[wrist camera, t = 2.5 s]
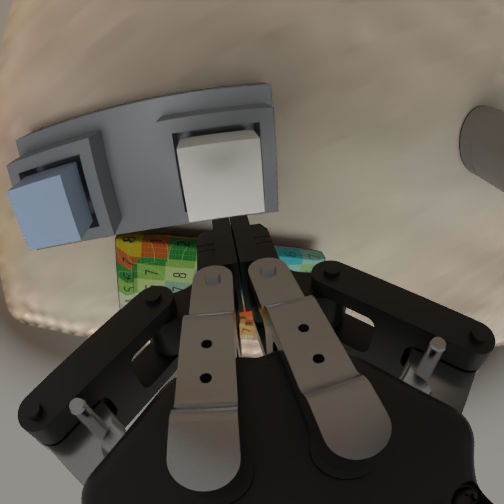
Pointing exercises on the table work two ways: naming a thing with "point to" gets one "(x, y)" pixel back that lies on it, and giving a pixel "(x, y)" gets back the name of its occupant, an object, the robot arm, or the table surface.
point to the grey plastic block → (147, 153)
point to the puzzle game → (182, 266)
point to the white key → (221, 174)
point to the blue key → (51, 207)
